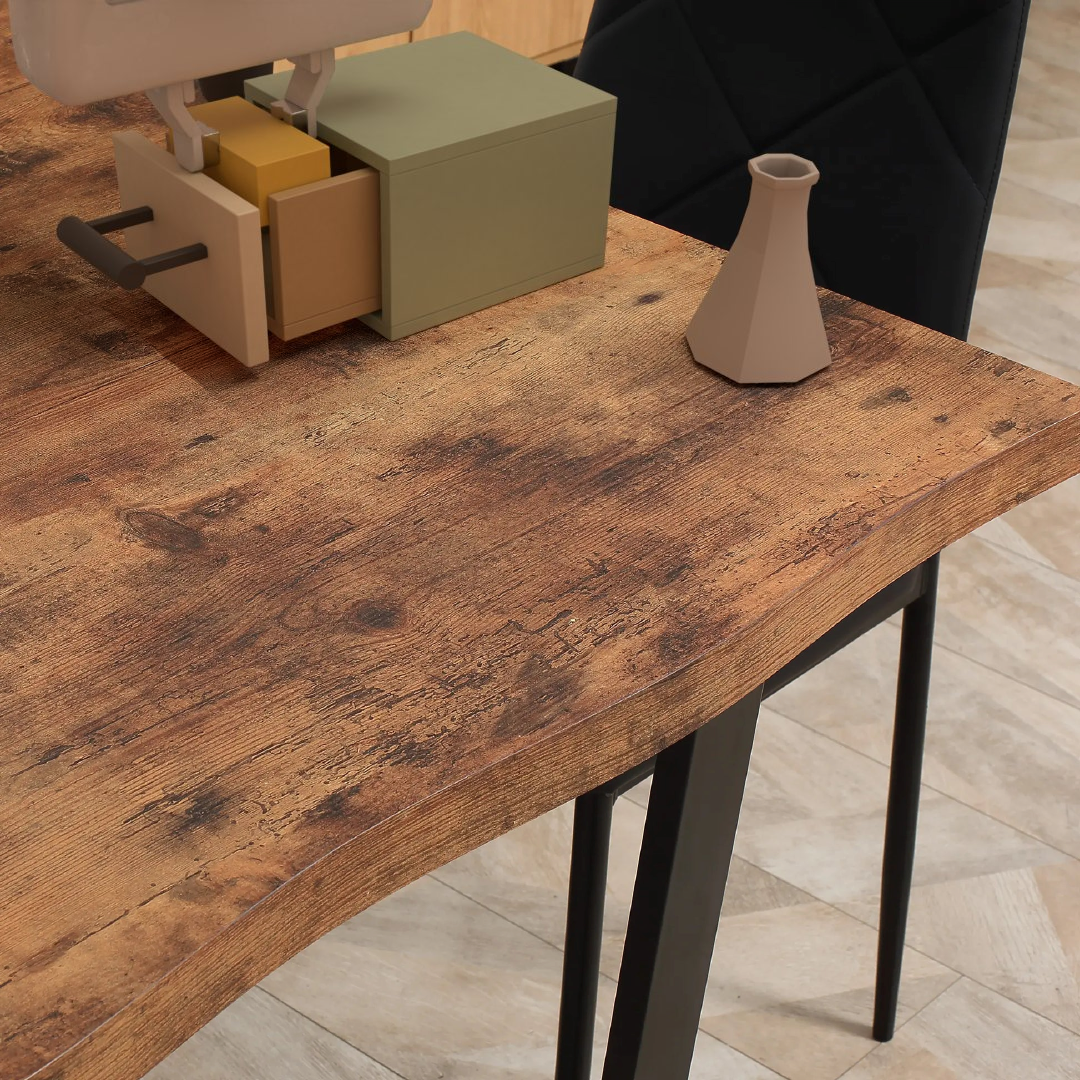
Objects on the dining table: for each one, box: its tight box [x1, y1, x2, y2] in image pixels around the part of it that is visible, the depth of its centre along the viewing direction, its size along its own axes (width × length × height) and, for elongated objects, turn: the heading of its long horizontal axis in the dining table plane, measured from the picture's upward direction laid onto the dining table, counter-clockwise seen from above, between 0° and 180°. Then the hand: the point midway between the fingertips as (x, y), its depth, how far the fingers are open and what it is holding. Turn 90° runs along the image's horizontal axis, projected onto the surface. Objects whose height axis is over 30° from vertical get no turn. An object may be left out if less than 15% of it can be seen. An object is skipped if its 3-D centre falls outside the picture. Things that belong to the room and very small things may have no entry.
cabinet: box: [244, 29, 618, 342], centre depth 82 cm, size 15×13×10 cm
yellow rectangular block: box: [167, 96, 331, 227], centre depth 74 cm, size 8×4×3 cm, turn 41°
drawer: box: [55, 107, 382, 368], centre depth 76 cm, size 18×11×8 cm, turn 131°
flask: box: [683, 153, 833, 384], centre depth 75 cm, size 7×7×10 cm
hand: (247, 153), depth 74 cm, fingers closed on yellow rectangular block, 4 cm apart
